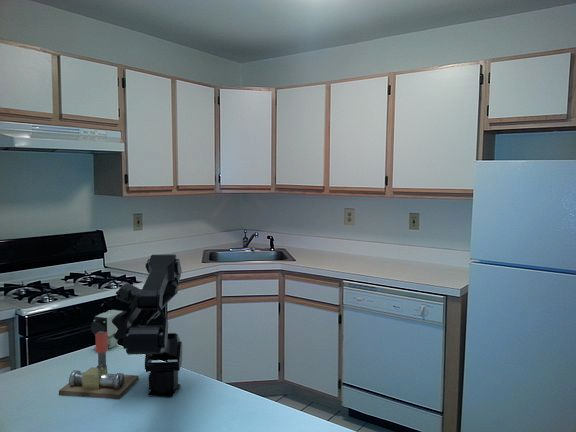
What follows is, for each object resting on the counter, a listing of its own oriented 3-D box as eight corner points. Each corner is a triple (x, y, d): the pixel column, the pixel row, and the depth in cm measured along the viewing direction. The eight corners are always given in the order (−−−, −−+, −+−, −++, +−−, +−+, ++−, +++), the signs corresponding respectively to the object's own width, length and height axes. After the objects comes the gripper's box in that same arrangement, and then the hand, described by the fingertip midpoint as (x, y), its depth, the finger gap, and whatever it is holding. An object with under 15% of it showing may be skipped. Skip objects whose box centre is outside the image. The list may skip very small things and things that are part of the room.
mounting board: (138, 379, 123) (138, 375, 123) (119, 399, 112) (119, 394, 112) (83, 376, 124) (83, 372, 124) (59, 395, 113) (58, 390, 113)
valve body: (125, 385, 118) (124, 369, 118) (116, 392, 114) (116, 376, 113) (78, 382, 119) (77, 366, 119) (68, 389, 115) (68, 373, 115)
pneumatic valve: (127, 341, 152) (127, 306, 151) (103, 353, 141) (102, 316, 140) (114, 339, 154) (113, 304, 153) (88, 351, 143) (88, 314, 142)
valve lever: (108, 369, 121) (107, 331, 120) (104, 373, 119) (103, 334, 118) (100, 369, 121) (99, 331, 120) (96, 372, 119) (95, 333, 118)
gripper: (150, 267, 126) (114, 304, 128) (118, 283, 108) (76, 325, 110) (178, 296, 126) (141, 332, 128) (150, 316, 107) (108, 358, 110)
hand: (117, 336), depth 119 cm, fingers open, 3 cm apart
